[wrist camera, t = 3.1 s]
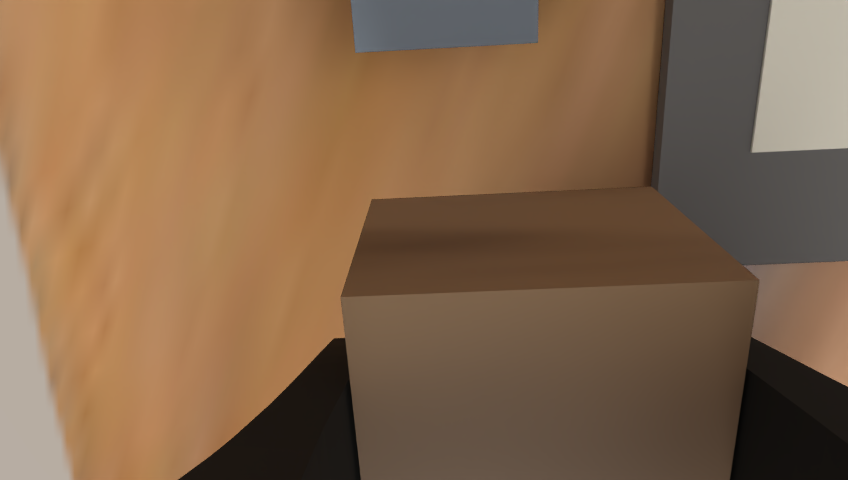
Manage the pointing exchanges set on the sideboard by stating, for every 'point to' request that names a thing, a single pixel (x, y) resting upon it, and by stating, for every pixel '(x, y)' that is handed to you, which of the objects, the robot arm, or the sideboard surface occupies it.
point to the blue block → (442, 23)
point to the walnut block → (544, 339)
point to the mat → (757, 125)
